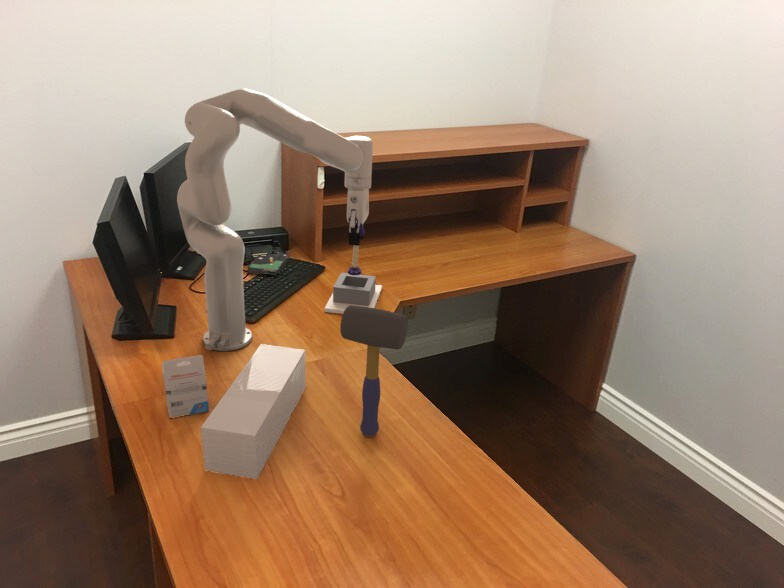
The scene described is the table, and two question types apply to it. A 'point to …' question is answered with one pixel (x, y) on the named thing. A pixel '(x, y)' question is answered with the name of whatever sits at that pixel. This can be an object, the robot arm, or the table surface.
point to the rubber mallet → (373, 351)
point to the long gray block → (254, 412)
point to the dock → (353, 292)
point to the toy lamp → (356, 255)
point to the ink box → (185, 386)
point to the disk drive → (268, 263)
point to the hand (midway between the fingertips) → (356, 241)
